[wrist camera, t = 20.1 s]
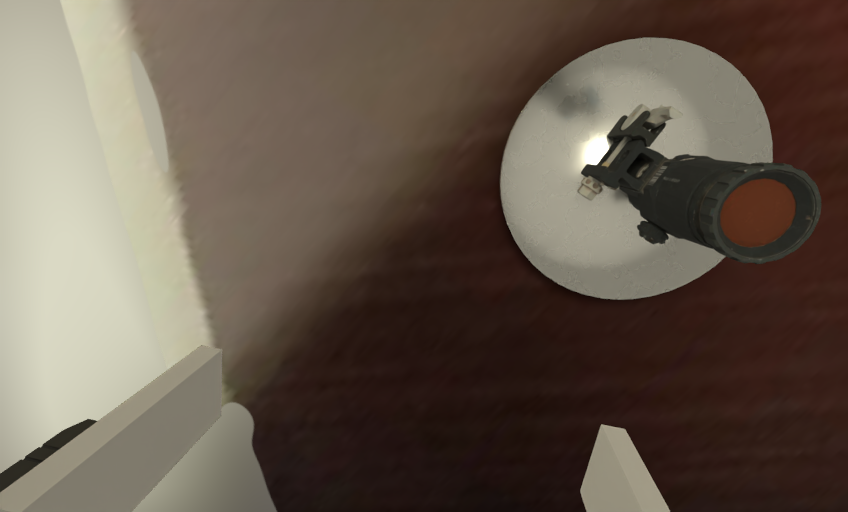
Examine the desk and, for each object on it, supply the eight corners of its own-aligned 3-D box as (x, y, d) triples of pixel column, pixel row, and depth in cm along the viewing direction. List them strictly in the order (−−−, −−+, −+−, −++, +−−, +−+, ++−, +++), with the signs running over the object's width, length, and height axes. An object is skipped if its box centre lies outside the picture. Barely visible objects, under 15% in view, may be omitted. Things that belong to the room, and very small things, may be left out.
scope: (732, 77, 20) (891, 189, 20) (628, 105, 33) (725, 173, 34) (622, 214, 22) (767, 312, 23) (565, 189, 36) (657, 251, 36)
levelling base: (500, 54, 37) (503, 45, 33) (766, 41, 34) (798, 29, 31) (495, 285, 42) (497, 297, 39) (723, 288, 40) (746, 301, 36)
